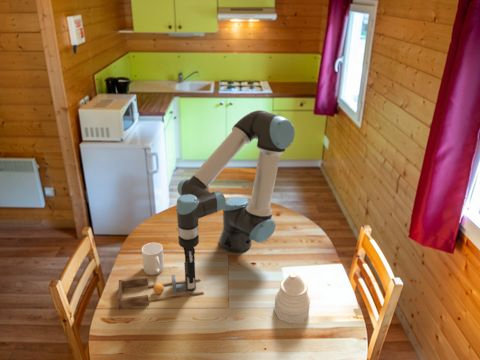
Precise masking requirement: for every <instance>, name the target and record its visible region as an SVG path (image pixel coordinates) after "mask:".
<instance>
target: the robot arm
mask: <svg viewBox="0 0 480 360" xmlns="http://www.w3.org/2000/svg"><path fill="white" fill-rule="evenodd" d="M295 132H296V131H295V126H294V125H293V123H292V121H291V120H290V119H288V118H286V117H284V116H282V115H277V114H274V113H272V112H268V111H266V110H261V109H260V110H258V109H257V110H254V111H251V112H249V113H247V114H246V115H244V116H243V117H242V118H240V119H239V120H238V121H237V122H236V123H235V124H234V125H233V126H232V127H231V133H229V135H227V137H226V138H225V139H224V140H223V141H222V142H221V143H220V145H219V146H218V147H217V148H216V149H215V150H214V151H213V153H211V155H210V156H209V157H208V158H207V159H206V160H205V161H204V162H203V164H202V165H201V166H200V167H199V168H198V170H196V172H195V173H194V174H193V175H192V176H191V177H190V178H184V179H182V180H181V181H180V182H179V183H178V185H177V189H176V190H177V193H178V195H180V196H179V197H178V198H177V200H176V216H177V227H176V229H175V230H176V231H178V232H177V233H178V235H177V236H178V245H179V246H180V247H182V248H183V252H184V253H183V254H184V263H185V262H186V261H187V272H188V275H186V277H187V282H188V289H192V288H195V279H196V265H195V266H194V262H195V261H196V259H195V253H196V250H195V247H197V246H198V245H199V244H200V243H199V241H200V236H199V232H200V231H199V219H201V218H204V217H206V216H210V215H212V214H215V213H218V212H220V211H222V218H223V220H222V221H223V222H222V223H223V224H222V226H223V227H222V231H221V233H220V237H219V246H220V248H221V249H223V250H224V251H226V252H229V253H241V252H245V251H247V250H249V249H250V248H251V246H252V241H254V242H255V243H264V242H265V241H267V240H268V239H270V238H271V237H272V236H273V234H274V232H275V230H276V226H277V224H276V222H275V220H274V219H272V216H273V210H272V209H271V205H272V198H273V194H274V190H275V189H274V188H275V182H276V179H277V173H278V169H279V164H280V158H281V156H282V154H283V153H285V151H286V149H288V148H289V147H291V145H292V144H293V141H294V139H295V135H296V134H295ZM255 139H256V140H257V143H256V147H257V150H259V153H258V159H257V164H256V169H255V174H254V179H253V180H254V181H253V184H252V185H253V186H252V192H251V197H250V201H249V198H246V197H243V196H233V197H229V198H227V199H226V196H225V195H224V194H223V192H221V191H220V190H215V191H212V192H210V191H209V190H208V187H209V186H210V185H211V184H212V182H214V181H215V179H216V178H217V177H218V176H219V175H220V174H221V172H223V170H224V169H225V168H226V167H227V166H228V165H229V163H230V162H231V161H232V160H233V159H234V158H235V156H237V155H238V153H239V152H240V151H241V150H242V148H243V147H244V146H245V145H247V144H251V142H252V141H253V140H255ZM194 278H195V279H194Z"/></svg>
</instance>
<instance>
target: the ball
mask: <svg viewBox="0 0 480 360" xmlns="http://www.w3.org/2000/svg"><path fill="white" fill-rule="evenodd" d="M162 284H163V283H156V284H154V285H155V286H154V287H153V292H154V293H155V294H157V295H160V294H162V293H163V292H164V290H165V286H163V285H162Z"/></svg>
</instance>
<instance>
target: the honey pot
mask: <svg viewBox="0 0 480 360" xmlns="http://www.w3.org/2000/svg"><path fill="white" fill-rule="evenodd" d="M308 290H309V286H308V283H306V281H305V280H303V279H302V277H301V276H300V275H299V274H297V273H296V272H294V271H293V272H291V271H290V273H289V275H288V276H287V277H286V278H284V279H283V280H281V282H280V285H279V289H278V291H277V293H276V295H275V297H274V307H273V308H274V309H273V311H274V314H275V313H276V314H275V315H276V317H278V318H279V320H281V319H282V321H283V320H284V321H283V322H285V321H286V322H287V323H288V322H290V323H291V324H299V323H302V322H304V321H305V320H306V319H307V318H308V316H309V313H310V307H311V306H310V305H311V304H310V303H311V301H310V297H309V293H308ZM286 322H285V323H286ZM298 322H299V323H298ZM290 323H289V324H290Z"/></svg>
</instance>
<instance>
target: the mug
mask: <svg viewBox="0 0 480 360" xmlns="http://www.w3.org/2000/svg"><path fill="white" fill-rule="evenodd" d="M163 248H164V247H163V245H162V244H161V243H159V242H149V243H146V244H144V245H143V246H141V257H142V265H143V271H144V273H145V274H147V275H151V276H152V275H153V276H154V275H158V274H160V273H162V272H163V270H164V269H165V260H164V249H163Z"/></svg>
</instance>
